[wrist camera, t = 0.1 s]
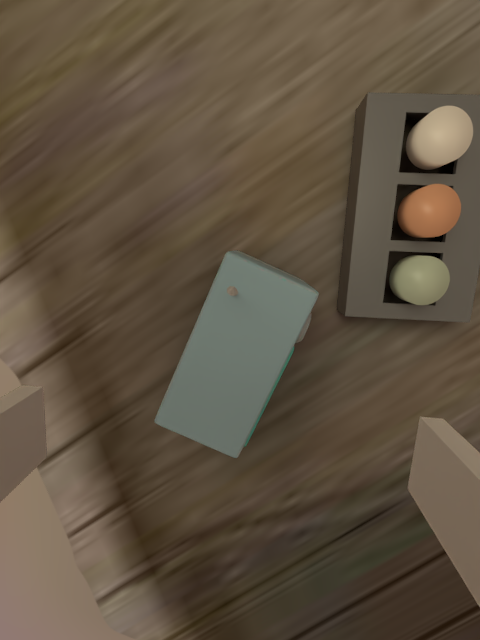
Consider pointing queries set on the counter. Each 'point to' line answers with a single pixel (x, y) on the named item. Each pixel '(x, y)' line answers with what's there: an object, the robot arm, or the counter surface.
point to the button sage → (419, 279)
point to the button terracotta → (429, 211)
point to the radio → (236, 353)
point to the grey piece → (379, 202)
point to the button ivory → (439, 138)
